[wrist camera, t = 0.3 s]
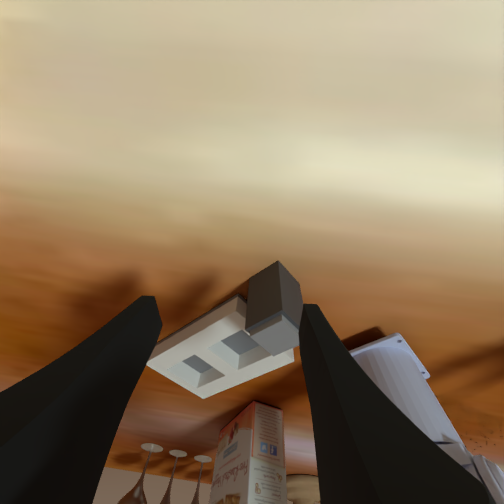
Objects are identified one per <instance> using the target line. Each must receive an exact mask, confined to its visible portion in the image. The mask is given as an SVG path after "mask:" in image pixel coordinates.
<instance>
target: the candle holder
mask: <svg viewBox="0 0 504 504" xmlns="http://www.w3.org/2000/svg"><path fill="white" fill-rule="evenodd" d="M286 487H287V500H289V501H292V502H293V504H314V503H315V502H318V501H320V492H319V481H318V477H317V476H312V475H303V474H296V475H287V476H286Z"/></svg>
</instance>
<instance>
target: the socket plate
mask: <svg viewBox="0 0 504 504" xmlns="http://www.w3.org/2000/svg"><path fill="white" fill-rule="evenodd" d="M246 310H247V301H246V300H245V299H244V298H243V297H242V296H241V295H240V294H239V293H238V294H236V295H235V296H233V297H231V298H230V299H228V300H227V301H225V302H223V303H222V304H220V305H218V306H217V307H215V308H213V309H212V310H210V311H209V312H207V313H205V314H204V315H202V316H200V317H199V318H197V319H195V320H194V321H192V322H191V323H189V324H187V325H186V326H184V327H182V328H181V329H179V330H177V331H176V332H174V333H172V334H171V335H169V336H168V337H166V338H164V339H163V340H161V341H159V342H158V343H156V345H155V347H154V350H153V352H152V354H151V356H150V358H149V360H148V362H147V364H146V365H147V366H149V367H150V368H152V369H154V370H156V371H157V372H159V373H161V374H162V375H164V376H166V377H167V378H169V379H171V380H172V381H174V382H176V383H177V384H179V385H181V386H182V387H184V388H186V389H187V390H189V391H191V392H192V393H194V394H196V395H197V396H199V397H201V398H202V399H204V398H207V397H209V396H211V395H214V394H216V393H219V392H221V391H224V390H226V389H228V388H231V387H233V386H236V385H238V384H241V383H243V382H245V381H248V380H250V379H253V378H255V377H258V376H260V375H262V374H265V373H267V372H270V371H272V370H274V369H277V368H279V367H282V366H284V365H287V364H289V363H291V362H294V355H293V348H292V349H289V350H287V351H285V352H283V353H280V354H278V355H276V356H272V355H271V354H270V353H269V352H268V351H266V350H265V349H264V348H263V347H261V346H260V345H259V344H258V343H257V342H255V341H254V340H253V339H252V338H251V337H250V334H249V333H248V332H247V331H246V330H245V321H246Z"/></svg>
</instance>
